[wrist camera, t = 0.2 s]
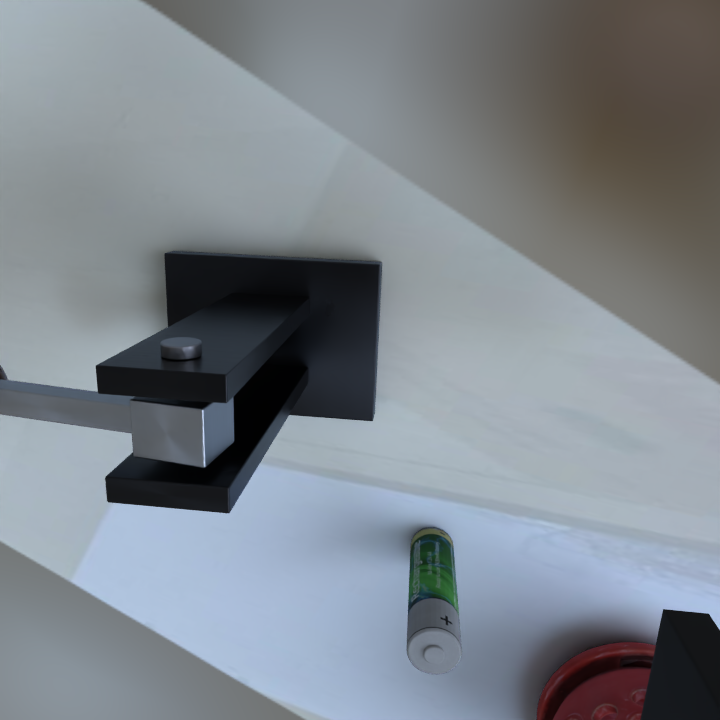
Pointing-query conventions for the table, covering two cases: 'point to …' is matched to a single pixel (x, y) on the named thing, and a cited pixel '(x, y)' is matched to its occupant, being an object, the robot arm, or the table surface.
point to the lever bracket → (248, 362)
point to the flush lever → (130, 419)
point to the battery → (433, 604)
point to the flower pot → (599, 684)
